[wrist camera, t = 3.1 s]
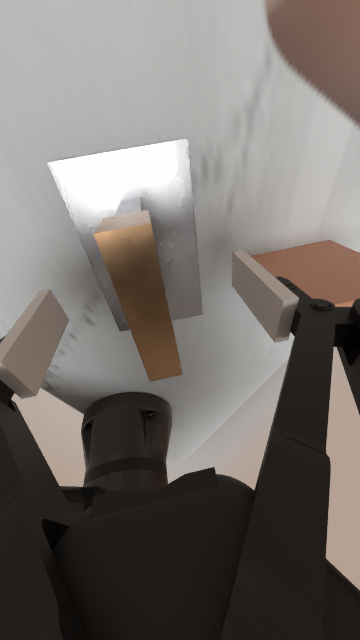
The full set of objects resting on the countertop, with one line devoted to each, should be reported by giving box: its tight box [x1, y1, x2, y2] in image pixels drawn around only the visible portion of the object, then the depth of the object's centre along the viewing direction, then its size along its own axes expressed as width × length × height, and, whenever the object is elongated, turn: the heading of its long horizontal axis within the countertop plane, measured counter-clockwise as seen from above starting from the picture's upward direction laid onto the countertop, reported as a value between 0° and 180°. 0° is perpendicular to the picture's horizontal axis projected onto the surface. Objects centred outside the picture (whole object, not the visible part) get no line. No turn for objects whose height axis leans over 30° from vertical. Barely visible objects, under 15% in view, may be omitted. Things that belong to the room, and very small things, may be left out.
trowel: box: [48, 138, 202, 381], centre depth 16 cm, size 16×10×11 cm, turn 8°
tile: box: [251, 240, 360, 307], centre depth 19 cm, size 2×10×10 cm, turn 98°
